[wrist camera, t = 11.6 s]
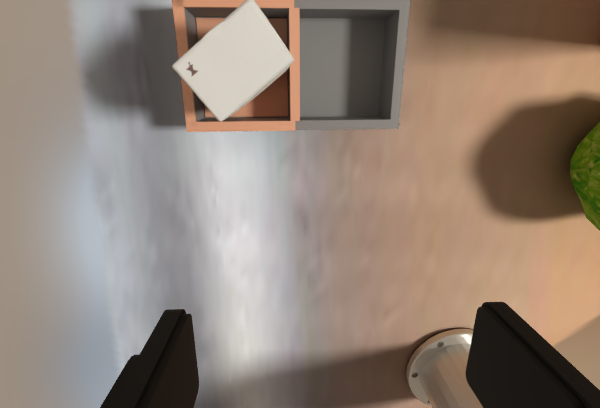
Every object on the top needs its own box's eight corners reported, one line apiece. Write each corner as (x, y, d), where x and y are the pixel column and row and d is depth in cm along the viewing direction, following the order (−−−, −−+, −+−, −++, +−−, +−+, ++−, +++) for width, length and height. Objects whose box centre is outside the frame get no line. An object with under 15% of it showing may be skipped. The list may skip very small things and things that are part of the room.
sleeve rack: (392, 10, 30) (411, -3, 26) (384, 123, 34) (399, 129, 29) (186, 7, 29) (171, -6, 25) (198, 126, 32) (186, 131, 28)
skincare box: (239, 112, 31) (217, 125, 20) (208, 73, 30) (166, 65, 19) (289, 70, 31) (297, 60, 19) (259, 28, 29) (249, -9, 18)
